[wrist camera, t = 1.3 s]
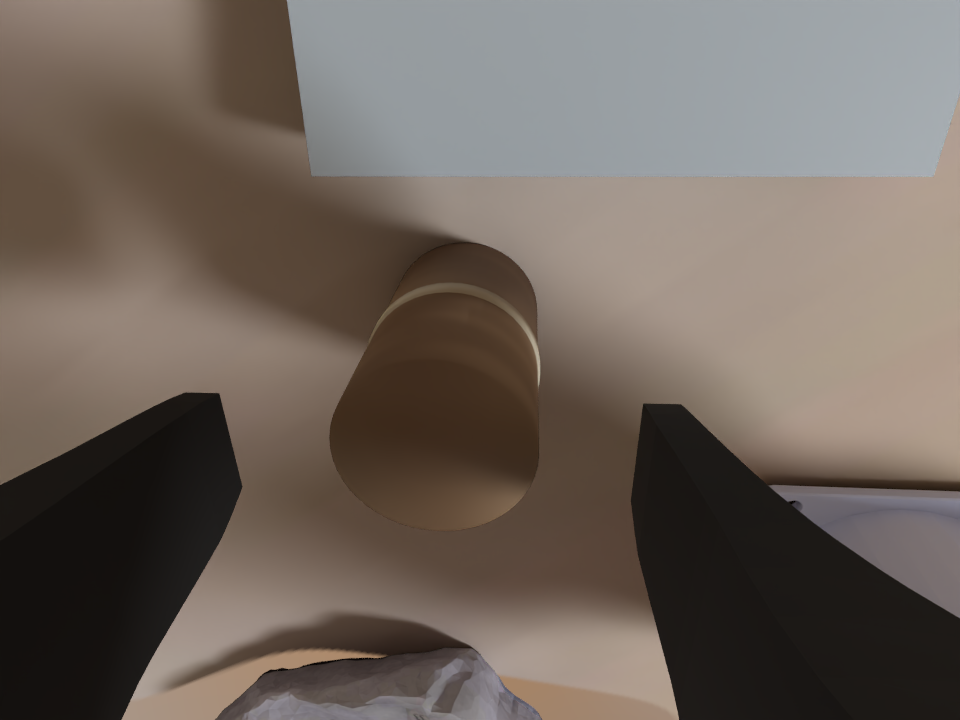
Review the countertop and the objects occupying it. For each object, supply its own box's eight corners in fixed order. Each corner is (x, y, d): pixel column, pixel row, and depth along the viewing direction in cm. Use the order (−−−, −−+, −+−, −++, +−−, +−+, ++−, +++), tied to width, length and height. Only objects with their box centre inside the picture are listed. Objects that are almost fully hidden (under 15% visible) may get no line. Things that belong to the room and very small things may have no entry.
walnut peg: (541, 241, 15) (545, 358, 10) (536, 376, 17) (539, 537, 11) (388, 240, 15) (312, 353, 10) (399, 372, 17) (340, 528, 12)
